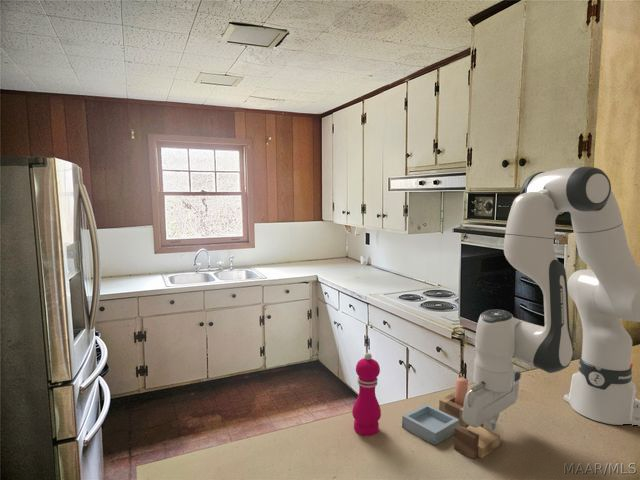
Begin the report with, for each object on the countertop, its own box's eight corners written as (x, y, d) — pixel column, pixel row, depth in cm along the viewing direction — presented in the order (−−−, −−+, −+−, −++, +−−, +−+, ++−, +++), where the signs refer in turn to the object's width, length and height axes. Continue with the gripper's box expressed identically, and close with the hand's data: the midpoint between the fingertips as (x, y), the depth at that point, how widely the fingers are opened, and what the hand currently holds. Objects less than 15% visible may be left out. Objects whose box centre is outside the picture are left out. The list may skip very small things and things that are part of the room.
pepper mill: (379, 438, 102) (382, 360, 99) (350, 435, 103) (351, 357, 101) (381, 423, 109) (383, 349, 106) (353, 419, 110) (355, 346, 108)
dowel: (458, 411, 115) (460, 376, 114) (468, 415, 113) (470, 380, 112) (452, 414, 113) (453, 379, 112) (461, 419, 111) (463, 383, 110)
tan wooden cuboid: (472, 432, 105) (473, 423, 105) (499, 445, 100) (500, 436, 100) (454, 444, 100) (455, 434, 100) (481, 458, 95) (482, 448, 95)
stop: (458, 445, 100) (459, 425, 99) (477, 455, 96) (479, 435, 95) (453, 448, 98) (454, 428, 98) (473, 459, 94) (474, 438, 94)
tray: (426, 414, 113) (426, 403, 113) (458, 430, 106) (459, 419, 105) (402, 426, 107) (402, 415, 107) (434, 445, 99) (435, 433, 99)
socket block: (455, 404, 119) (456, 391, 118) (481, 416, 113) (482, 402, 112) (438, 413, 114) (439, 399, 113) (465, 426, 108) (466, 412, 107)
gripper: (482, 394, 93) (478, 452, 94) (524, 370, 106) (521, 421, 107) (456, 384, 98) (454, 439, 99) (500, 362, 111) (497, 411, 112)
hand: (489, 430), depth 103 cm, fingers closed
